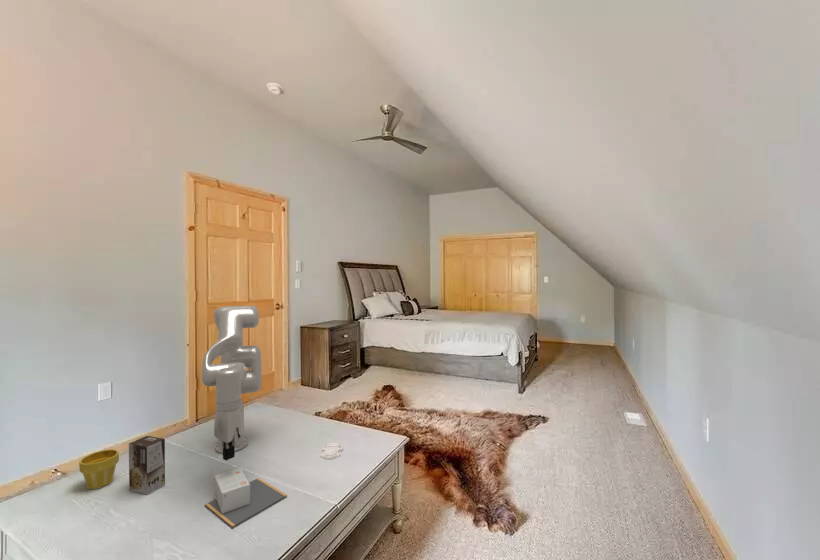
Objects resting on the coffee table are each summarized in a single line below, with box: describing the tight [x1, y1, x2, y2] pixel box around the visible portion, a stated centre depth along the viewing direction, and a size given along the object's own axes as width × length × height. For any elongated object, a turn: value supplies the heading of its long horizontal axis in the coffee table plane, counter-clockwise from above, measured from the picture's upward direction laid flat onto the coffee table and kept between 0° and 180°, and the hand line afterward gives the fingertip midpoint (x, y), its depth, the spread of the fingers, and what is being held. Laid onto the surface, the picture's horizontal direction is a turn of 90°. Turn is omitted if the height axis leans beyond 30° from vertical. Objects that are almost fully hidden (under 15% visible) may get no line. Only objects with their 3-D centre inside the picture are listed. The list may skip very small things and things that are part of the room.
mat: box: [204, 477, 288, 530], centre depth 112 cm, size 17×18×1 cm
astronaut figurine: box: [320, 442, 344, 461], centre depth 144 cm, size 9×12×3 cm
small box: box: [213, 467, 250, 514], centre depth 112 cm, size 8×6×13 cm
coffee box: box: [128, 435, 166, 496], centre depth 120 cm, size 9×6×16 cm
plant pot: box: [78, 448, 120, 490], centre depth 122 cm, size 10×10×10 cm
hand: (228, 458), depth 119 cm, fingers closed
